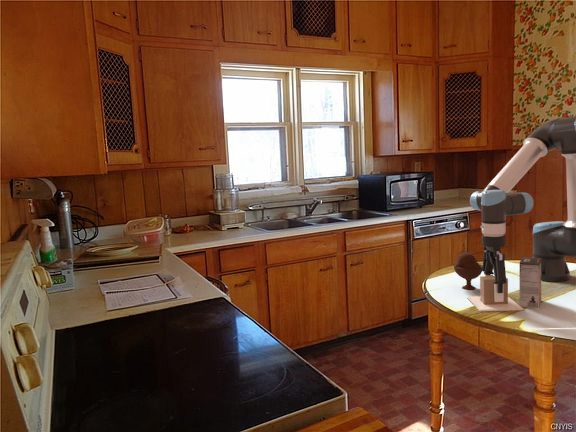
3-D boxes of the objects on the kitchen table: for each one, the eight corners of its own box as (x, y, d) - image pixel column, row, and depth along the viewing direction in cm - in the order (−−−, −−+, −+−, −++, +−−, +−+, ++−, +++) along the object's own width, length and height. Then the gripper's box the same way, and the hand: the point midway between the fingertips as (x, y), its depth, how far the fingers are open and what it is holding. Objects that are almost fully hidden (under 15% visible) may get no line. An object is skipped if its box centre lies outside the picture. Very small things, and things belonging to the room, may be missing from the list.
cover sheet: (506, 296, 161) (506, 271, 159) (523, 310, 147) (523, 282, 146) (467, 298, 162) (467, 273, 161) (479, 311, 148) (479, 284, 147)
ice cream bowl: (487, 293, 167) (486, 255, 165) (456, 293, 170) (455, 255, 168) (480, 285, 178) (480, 249, 176) (451, 285, 180) (451, 249, 178)
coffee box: (521, 299, 158) (521, 256, 156) (541, 301, 155) (541, 257, 153) (519, 307, 150) (519, 262, 148) (540, 310, 147) (540, 263, 145)
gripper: (472, 229, 162) (473, 288, 165) (493, 241, 141) (493, 307, 144) (493, 228, 162) (493, 287, 165) (517, 240, 140) (517, 307, 143)
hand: (493, 296), depth 154 cm, fingers open, 9 cm apart
